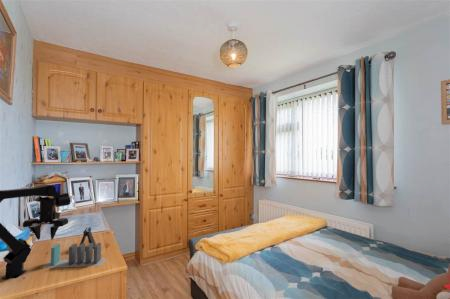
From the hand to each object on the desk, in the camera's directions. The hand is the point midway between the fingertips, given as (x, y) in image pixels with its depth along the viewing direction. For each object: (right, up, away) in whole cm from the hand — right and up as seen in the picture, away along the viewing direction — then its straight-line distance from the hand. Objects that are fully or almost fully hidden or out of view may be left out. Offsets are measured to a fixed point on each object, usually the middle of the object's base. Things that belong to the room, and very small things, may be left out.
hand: (45, 239), depth 119 cm
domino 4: (+21, -13, +3) cm, 25 cm away
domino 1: (+5, -13, 0) cm, 14 cm away
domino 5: (+25, -13, +3) cm, 28 cm away
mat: (+15, -13, +1) cm, 20 cm away
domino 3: (+17, -13, +2) cm, 21 cm away
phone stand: (+9, -14, +20) cm, 26 cm away
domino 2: (+13, -13, +2) cm, 18 cm away
